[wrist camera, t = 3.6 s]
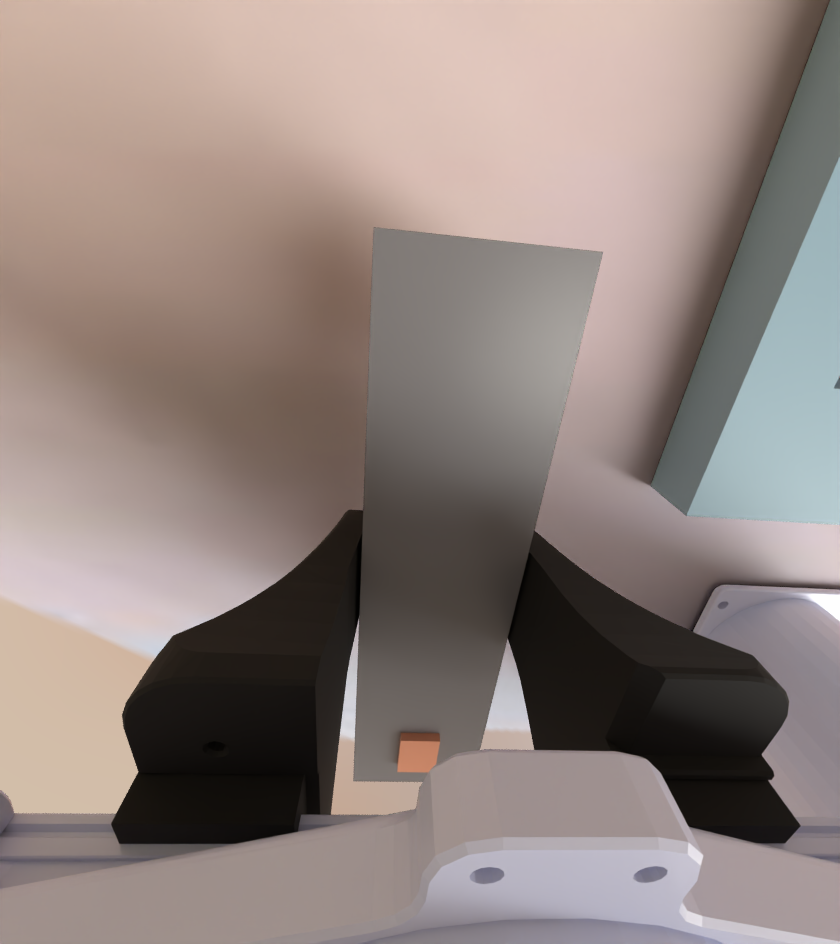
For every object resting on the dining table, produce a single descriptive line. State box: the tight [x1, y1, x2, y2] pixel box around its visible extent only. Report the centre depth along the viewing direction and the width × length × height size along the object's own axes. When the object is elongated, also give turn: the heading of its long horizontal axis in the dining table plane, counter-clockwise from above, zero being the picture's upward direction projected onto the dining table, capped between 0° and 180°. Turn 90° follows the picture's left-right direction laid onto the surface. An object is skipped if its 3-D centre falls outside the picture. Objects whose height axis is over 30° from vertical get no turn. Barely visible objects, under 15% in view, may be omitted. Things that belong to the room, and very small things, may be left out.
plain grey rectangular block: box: [353, 227, 603, 782], centre depth 13 cm, size 16×4×5 cm, turn 175°
